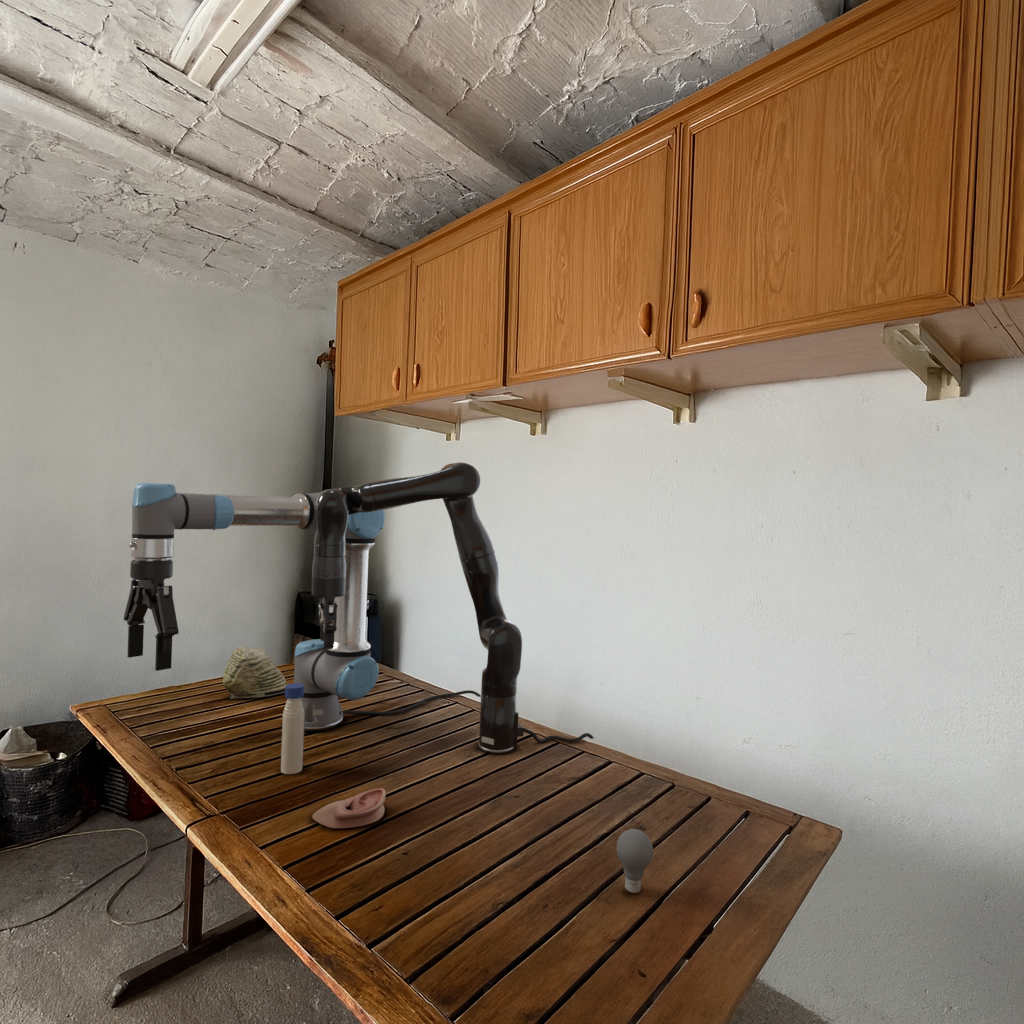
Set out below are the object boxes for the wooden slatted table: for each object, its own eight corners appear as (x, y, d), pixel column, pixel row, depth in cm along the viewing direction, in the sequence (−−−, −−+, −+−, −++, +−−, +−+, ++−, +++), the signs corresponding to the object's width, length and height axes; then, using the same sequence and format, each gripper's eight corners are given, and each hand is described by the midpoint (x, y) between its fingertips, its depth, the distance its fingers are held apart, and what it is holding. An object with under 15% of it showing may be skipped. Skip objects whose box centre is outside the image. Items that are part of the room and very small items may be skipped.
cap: (306, 696, 146) (307, 686, 146) (290, 700, 143) (290, 689, 143) (298, 692, 149) (298, 682, 149) (281, 695, 146) (282, 685, 146)
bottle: (306, 770, 146) (309, 688, 146) (286, 776, 143) (289, 691, 142) (296, 763, 150) (299, 683, 149) (276, 769, 146) (280, 686, 146)
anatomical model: (304, 803, 122) (333, 778, 133) (303, 824, 122) (332, 797, 133) (368, 813, 119) (392, 787, 131) (368, 834, 119) (391, 806, 131)
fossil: (218, 695, 195) (220, 647, 195) (278, 685, 208) (279, 640, 207) (228, 703, 189) (230, 653, 188) (289, 692, 201) (290, 645, 201)
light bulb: (610, 879, 108) (613, 822, 108) (644, 879, 109) (647, 822, 109) (619, 902, 102) (622, 840, 102) (655, 901, 103) (658, 840, 103)
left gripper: (108, 554, 134) (104, 654, 134) (159, 565, 118) (155, 678, 119) (146, 552, 140) (143, 648, 140) (199, 563, 124) (195, 671, 124)
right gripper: (349, 579, 142) (347, 651, 142) (342, 571, 155) (340, 637, 155) (314, 579, 139) (312, 652, 139) (310, 571, 152) (308, 638, 153)
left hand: (148, 662), depth 129 cm, fingers open, 13 cm apart
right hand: (326, 644), depth 147 cm, fingers open, 8 cm apart
